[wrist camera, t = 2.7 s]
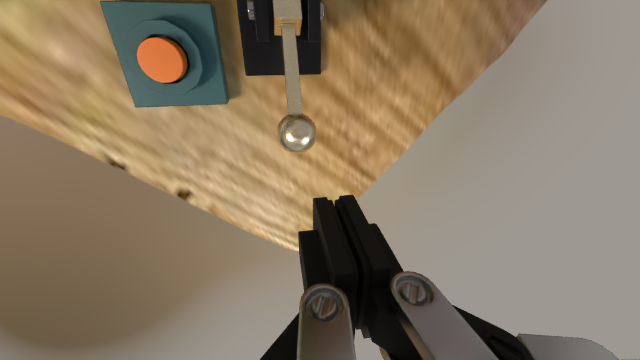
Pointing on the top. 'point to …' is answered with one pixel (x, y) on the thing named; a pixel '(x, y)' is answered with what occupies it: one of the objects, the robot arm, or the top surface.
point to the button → (162, 59)
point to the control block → (184, 29)
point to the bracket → (278, 38)
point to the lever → (292, 79)
